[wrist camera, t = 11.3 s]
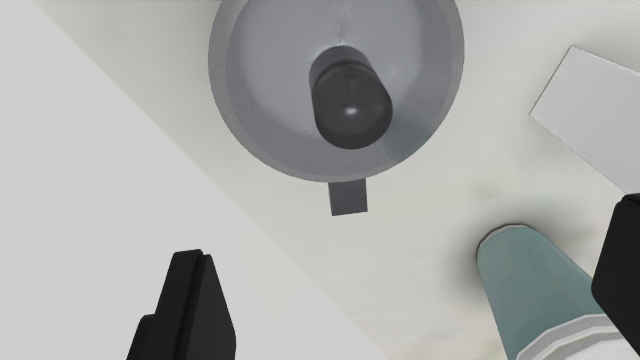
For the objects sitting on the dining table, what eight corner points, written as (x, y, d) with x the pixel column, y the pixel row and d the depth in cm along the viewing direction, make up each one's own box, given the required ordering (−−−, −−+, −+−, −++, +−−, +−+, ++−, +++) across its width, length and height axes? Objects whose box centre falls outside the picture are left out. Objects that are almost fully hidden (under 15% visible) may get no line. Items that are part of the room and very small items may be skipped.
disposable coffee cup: (563, 194, 41) (691, 321, 28) (559, 277, 47) (665, 415, 34) (449, 221, 42) (524, 358, 29) (459, 300, 47) (525, 444, 34)
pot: (194, -115, 27) (159, -127, 19) (422, -143, 27) (479, -165, 19) (253, 165, 37) (245, 231, 29) (419, 143, 37) (455, 204, 29)
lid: (202, -34, 21) (177, -18, 16) (451, -67, 21) (505, -61, 16) (250, 180, 27) (243, 241, 22) (444, 154, 27) (481, 209, 22)
